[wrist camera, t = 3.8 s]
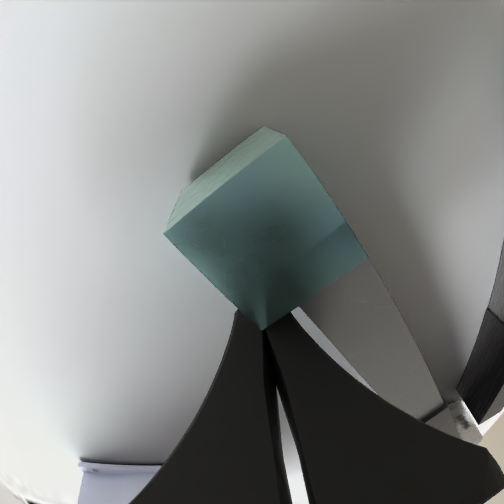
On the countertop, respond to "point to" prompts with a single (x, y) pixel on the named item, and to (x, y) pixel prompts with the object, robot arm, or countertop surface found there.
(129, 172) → the countertop surface
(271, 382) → the robot arm
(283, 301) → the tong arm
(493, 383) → the tongs fixed arm
